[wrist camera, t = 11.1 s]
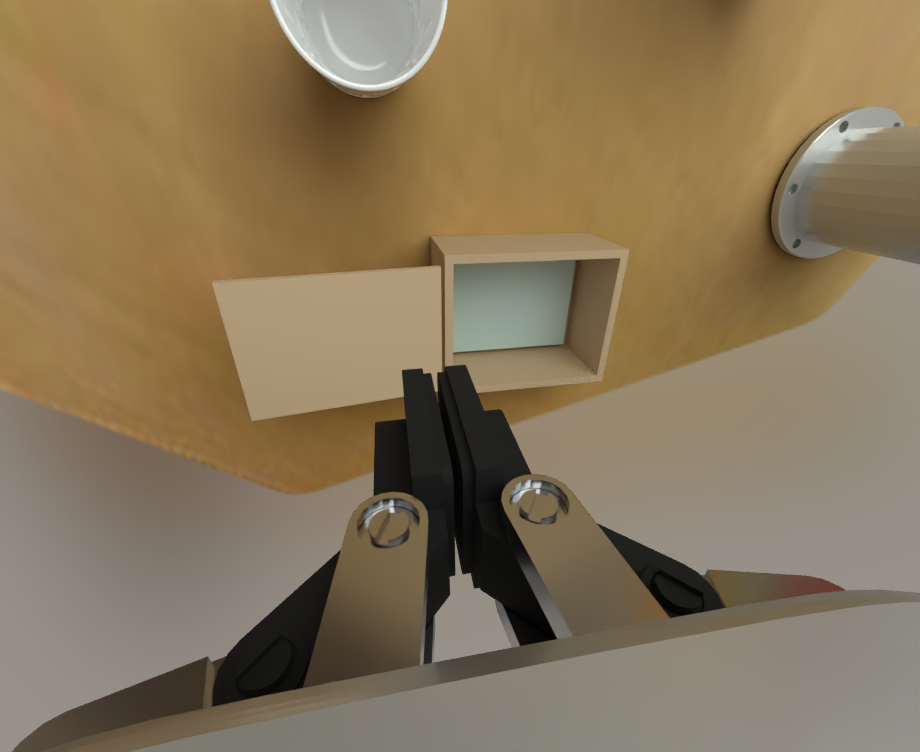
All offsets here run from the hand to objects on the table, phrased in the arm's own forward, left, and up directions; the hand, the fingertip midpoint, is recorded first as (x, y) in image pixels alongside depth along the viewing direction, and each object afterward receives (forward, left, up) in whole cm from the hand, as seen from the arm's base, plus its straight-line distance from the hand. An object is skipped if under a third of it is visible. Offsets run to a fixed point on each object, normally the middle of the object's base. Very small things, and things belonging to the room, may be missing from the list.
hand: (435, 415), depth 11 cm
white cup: (+1, -13, -26) cm, 28 cm away
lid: (+4, +5, -17) cm, 18 cm away
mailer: (-10, +5, -25) cm, 28 cm away
